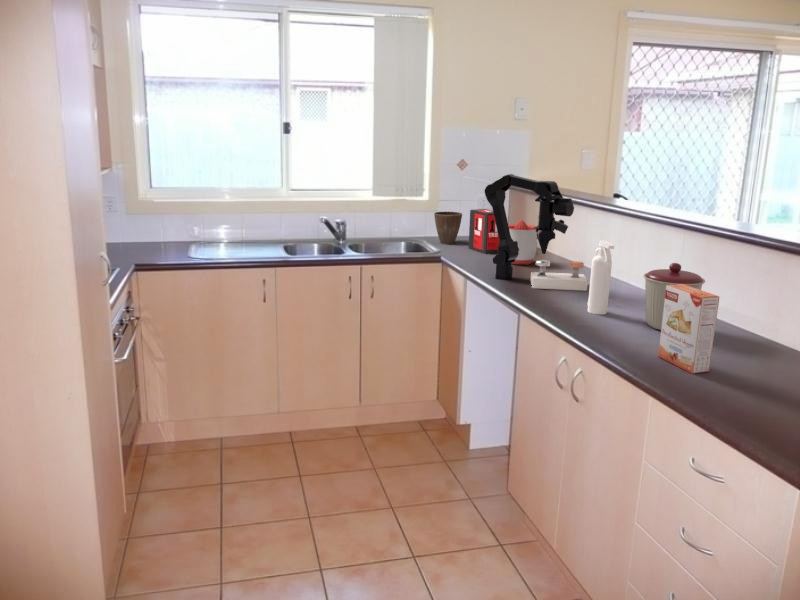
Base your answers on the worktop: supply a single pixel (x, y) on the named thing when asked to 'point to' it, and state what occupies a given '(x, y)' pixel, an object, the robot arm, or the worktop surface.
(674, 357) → the cracker box
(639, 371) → the worktop surface
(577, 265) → the terracotta plug
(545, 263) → the plug
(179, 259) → the worktop surface
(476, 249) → the cleaning product box
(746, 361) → the worktop surface
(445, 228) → the plant pot
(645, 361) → the worktop surface
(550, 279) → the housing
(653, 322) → the canister
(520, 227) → the citrus juicer
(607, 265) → the white spray bottle
